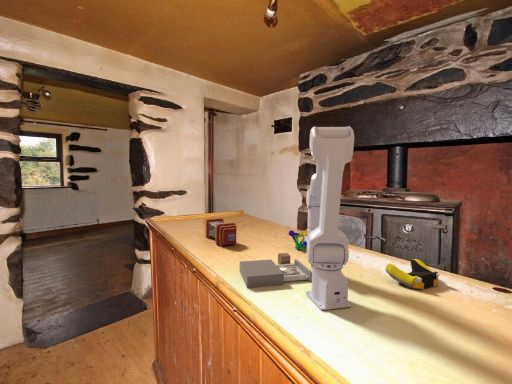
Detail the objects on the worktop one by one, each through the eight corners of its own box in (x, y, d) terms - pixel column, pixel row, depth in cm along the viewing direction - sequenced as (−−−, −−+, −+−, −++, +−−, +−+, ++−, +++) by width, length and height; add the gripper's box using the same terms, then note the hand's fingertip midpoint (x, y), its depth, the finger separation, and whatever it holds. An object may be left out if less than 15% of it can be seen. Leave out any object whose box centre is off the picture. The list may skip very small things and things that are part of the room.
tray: (313, 280, 79) (313, 272, 78) (278, 283, 76) (278, 275, 76) (297, 266, 91) (297, 259, 91) (266, 268, 88) (267, 261, 88)
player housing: (283, 284, 76) (283, 273, 76) (247, 288, 74) (247, 276, 73) (271, 268, 89) (271, 259, 89) (239, 271, 86) (239, 261, 86)
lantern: (202, 217, 136) (222, 227, 109) (219, 215, 140) (242, 225, 114) (202, 235, 136) (222, 250, 110) (219, 233, 141) (242, 248, 114)
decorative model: (330, 240, 112) (306, 235, 104) (322, 258, 113) (298, 255, 105) (310, 227, 123) (287, 222, 114) (303, 244, 124) (280, 240, 115)
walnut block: (290, 265, 92) (290, 255, 92) (280, 266, 91) (281, 256, 91) (286, 262, 96) (287, 252, 95) (277, 262, 95) (278, 253, 95)
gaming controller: (381, 280, 80) (412, 294, 71) (382, 262, 80) (413, 274, 71) (414, 273, 86) (446, 285, 77) (415, 257, 86) (447, 267, 77)
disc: (299, 274, 81) (299, 270, 81) (282, 276, 80) (282, 271, 80) (292, 268, 87) (292, 264, 87) (276, 269, 85) (276, 265, 85)
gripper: (339, 231, 78) (338, 275, 79) (317, 222, 92) (316, 260, 93) (318, 232, 77) (316, 277, 78) (299, 223, 91) (298, 261, 92)
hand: (315, 268), depth 85 cm, fingers closed
